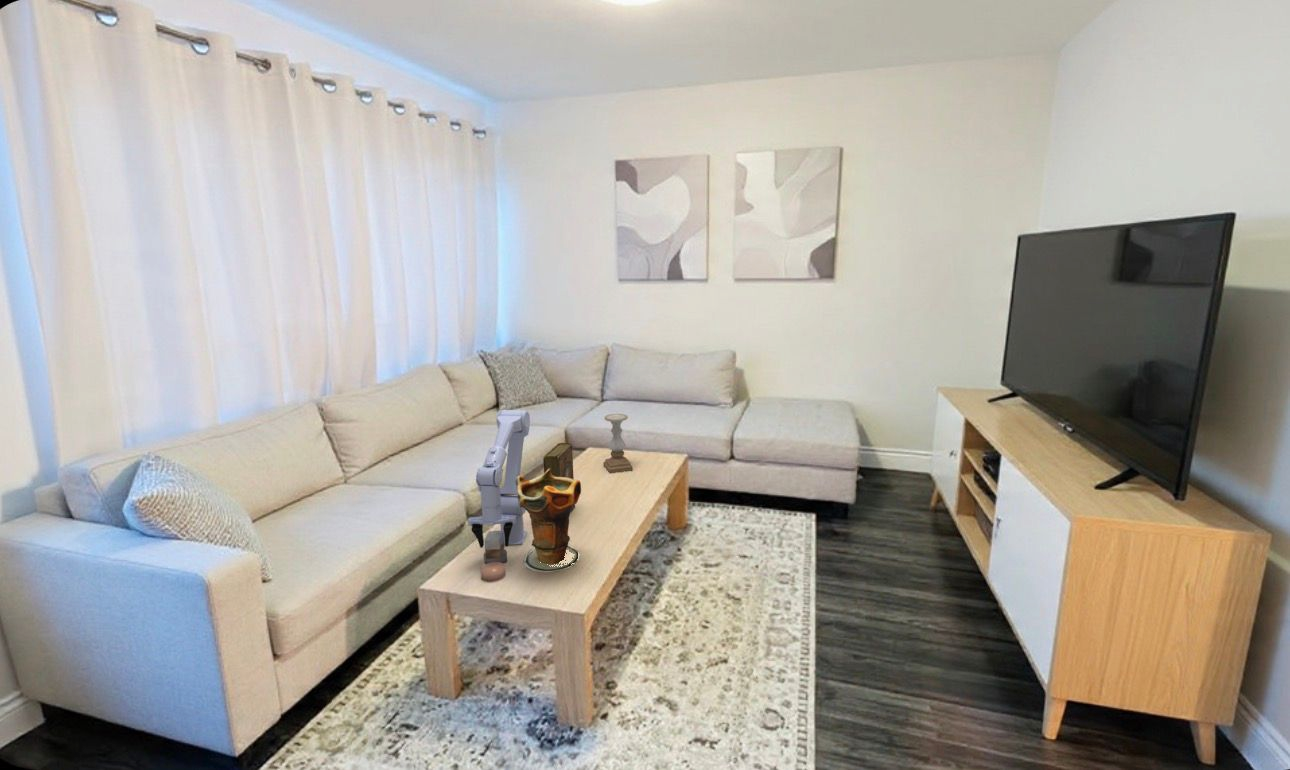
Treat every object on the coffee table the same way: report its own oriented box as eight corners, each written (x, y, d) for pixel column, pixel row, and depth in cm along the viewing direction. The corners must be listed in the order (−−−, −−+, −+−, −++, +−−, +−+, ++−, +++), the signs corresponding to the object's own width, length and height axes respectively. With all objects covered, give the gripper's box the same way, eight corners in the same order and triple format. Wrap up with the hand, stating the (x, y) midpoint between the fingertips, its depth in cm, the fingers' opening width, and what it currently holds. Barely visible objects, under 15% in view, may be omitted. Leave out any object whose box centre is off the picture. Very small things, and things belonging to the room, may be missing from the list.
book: (562, 505, 230) (559, 442, 225) (576, 506, 229) (573, 443, 224) (547, 523, 214) (543, 456, 209) (561, 524, 213) (558, 457, 208)
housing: (485, 558, 185) (484, 540, 183) (490, 548, 191) (488, 531, 190) (500, 558, 185) (499, 540, 184) (504, 548, 191) (503, 530, 190)
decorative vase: (550, 534, 205) (548, 456, 198) (599, 557, 191) (599, 474, 184) (500, 558, 189) (496, 475, 182) (550, 585, 175) (547, 496, 168)
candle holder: (603, 465, 273) (601, 414, 268) (626, 462, 276) (624, 412, 271) (609, 473, 263) (607, 420, 258) (633, 470, 266) (631, 418, 261)
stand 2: (484, 570, 183) (483, 562, 182) (507, 568, 183) (506, 561, 183) (479, 582, 176) (478, 574, 176) (503, 580, 176) (502, 573, 176)
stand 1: (486, 555, 192) (486, 548, 191) (509, 554, 192) (508, 547, 192) (482, 566, 185) (481, 559, 184) (505, 565, 185) (504, 558, 185)
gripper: (464, 510, 180) (467, 552, 183) (513, 508, 181) (516, 550, 184) (469, 501, 187) (473, 542, 190) (516, 499, 188) (519, 540, 191)
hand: (494, 545), depth 187 cm, fingers open, 7 cm apart
